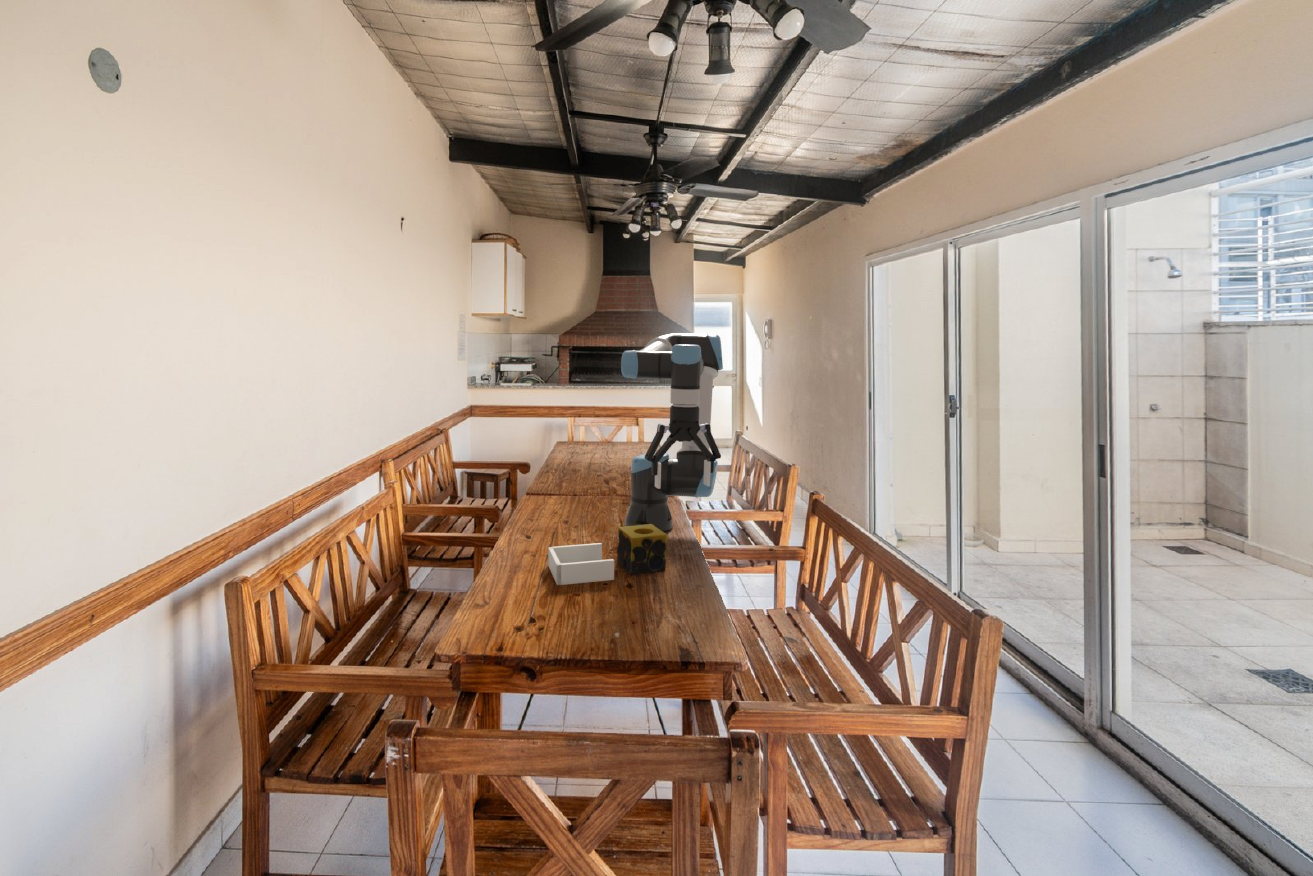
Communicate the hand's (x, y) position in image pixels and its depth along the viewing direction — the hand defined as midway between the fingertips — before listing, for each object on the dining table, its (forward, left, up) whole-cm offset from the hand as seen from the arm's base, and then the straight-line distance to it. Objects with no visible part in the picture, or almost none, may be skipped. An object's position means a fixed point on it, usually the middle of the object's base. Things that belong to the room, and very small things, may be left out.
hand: (682, 486), depth 166 cm
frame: (+26, -5, -21) cm, 34 cm away
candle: (+11, -2, -21) cm, 24 cm away
